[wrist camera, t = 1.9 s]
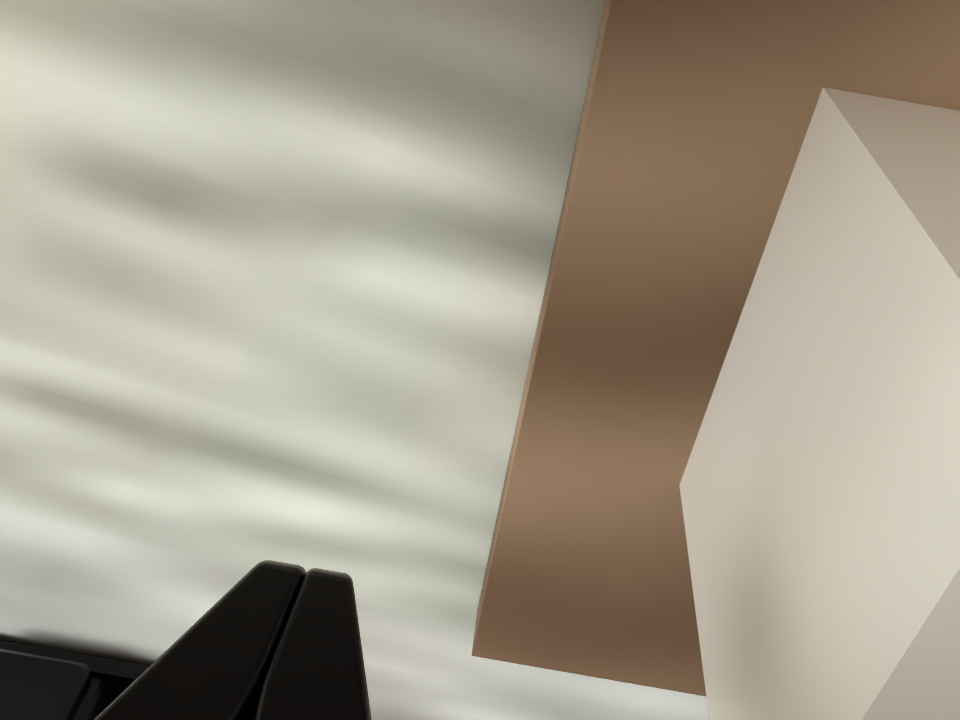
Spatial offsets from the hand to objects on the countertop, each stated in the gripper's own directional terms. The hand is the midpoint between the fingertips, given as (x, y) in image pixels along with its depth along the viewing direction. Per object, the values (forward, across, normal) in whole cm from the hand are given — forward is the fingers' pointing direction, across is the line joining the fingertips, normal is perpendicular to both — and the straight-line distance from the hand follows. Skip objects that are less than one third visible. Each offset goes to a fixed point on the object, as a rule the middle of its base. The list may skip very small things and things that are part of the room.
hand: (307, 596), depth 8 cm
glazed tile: (+6, -6, 0) cm, 9 cm away
